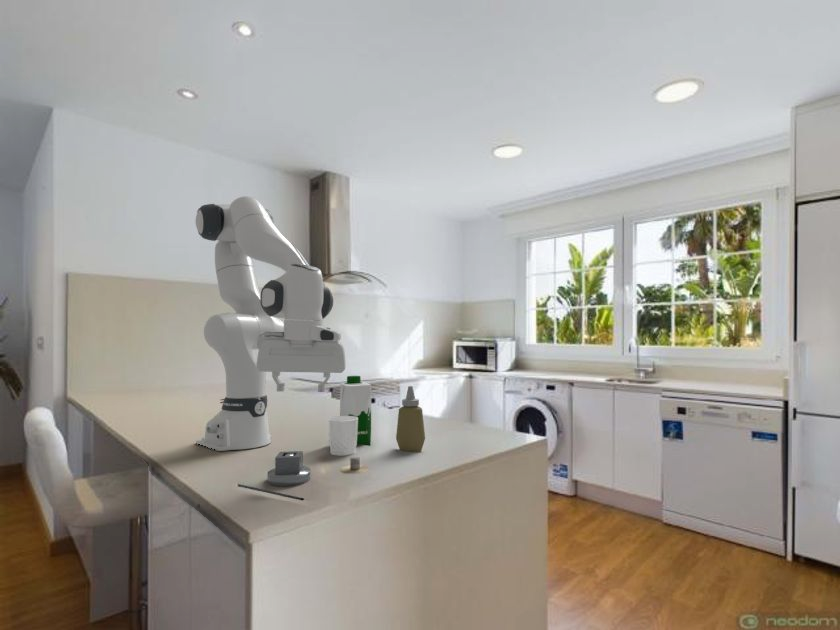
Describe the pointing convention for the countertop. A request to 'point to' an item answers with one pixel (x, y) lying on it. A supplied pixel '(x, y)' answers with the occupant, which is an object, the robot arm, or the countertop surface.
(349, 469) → the stand
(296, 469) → the square hollow frame
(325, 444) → the countertop surface
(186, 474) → the countertop surface
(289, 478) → the grey plate with knob
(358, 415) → the milk carton
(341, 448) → the white cup
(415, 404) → the squeeze bottle
